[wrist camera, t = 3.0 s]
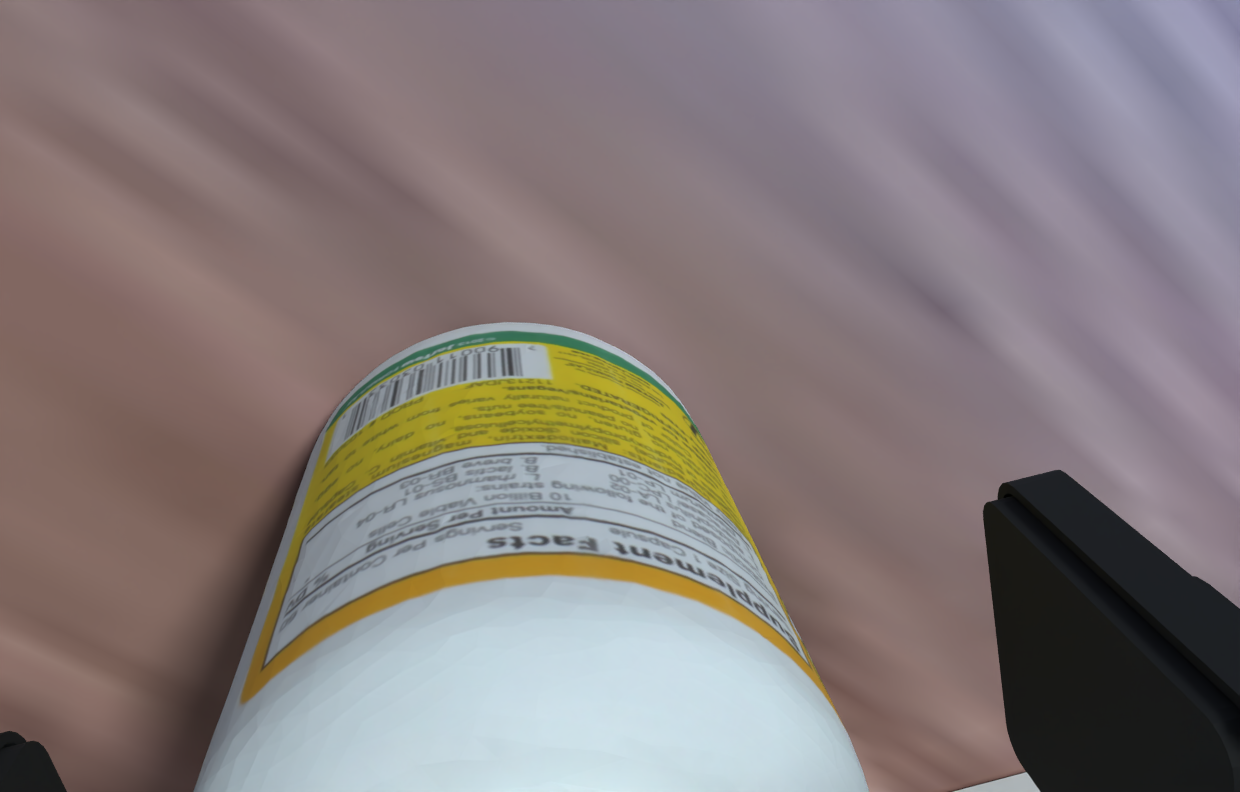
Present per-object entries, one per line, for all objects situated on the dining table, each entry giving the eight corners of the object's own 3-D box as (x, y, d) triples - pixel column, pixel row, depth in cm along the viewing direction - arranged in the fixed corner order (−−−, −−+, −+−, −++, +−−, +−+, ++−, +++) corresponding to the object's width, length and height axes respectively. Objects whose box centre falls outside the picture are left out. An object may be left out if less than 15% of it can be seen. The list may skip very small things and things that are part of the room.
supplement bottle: (420, 236, 13) (311, 744, 4) (787, 426, 15) (1262, 1099, 6) (233, 592, 15) (-140, 1541, 6) (588, 735, 16) (728, 1670, 7)
